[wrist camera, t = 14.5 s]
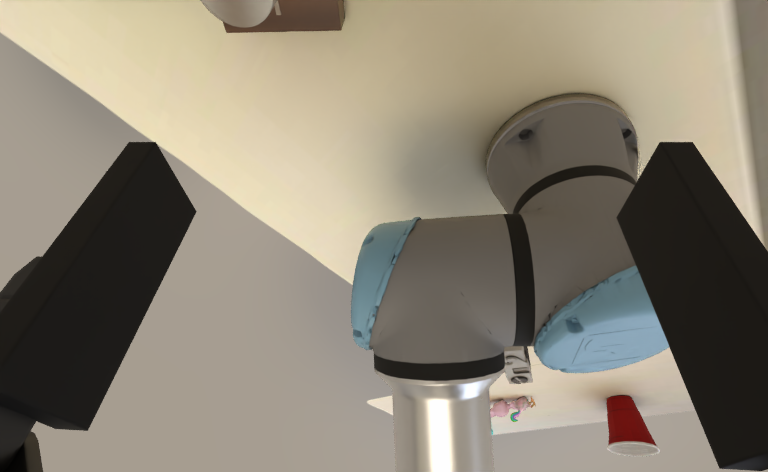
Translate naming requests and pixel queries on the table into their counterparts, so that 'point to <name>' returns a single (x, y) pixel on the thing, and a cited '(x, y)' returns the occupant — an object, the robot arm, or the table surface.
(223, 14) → the dial
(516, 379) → the camera
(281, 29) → the dial panel
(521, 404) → the pink unicorn toy
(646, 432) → the plastic cup
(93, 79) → the table surface
